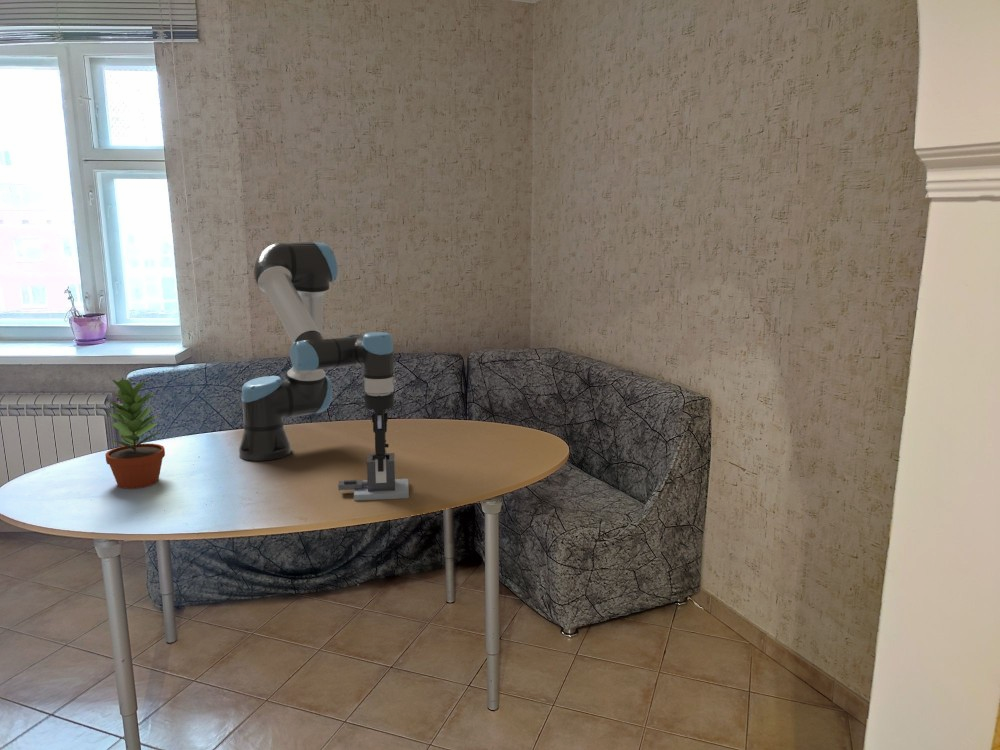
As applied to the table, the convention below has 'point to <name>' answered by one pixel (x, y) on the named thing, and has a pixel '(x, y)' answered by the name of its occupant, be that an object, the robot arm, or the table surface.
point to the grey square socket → (373, 476)
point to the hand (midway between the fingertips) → (381, 477)
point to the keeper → (384, 492)
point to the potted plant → (134, 440)
